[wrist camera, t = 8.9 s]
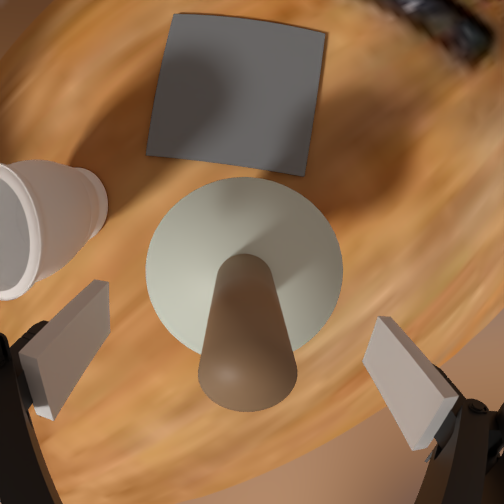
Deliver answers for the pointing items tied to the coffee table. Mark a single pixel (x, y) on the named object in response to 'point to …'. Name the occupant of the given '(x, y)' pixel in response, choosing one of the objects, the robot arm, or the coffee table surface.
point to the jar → (44, 220)
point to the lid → (244, 285)
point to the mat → (237, 93)
